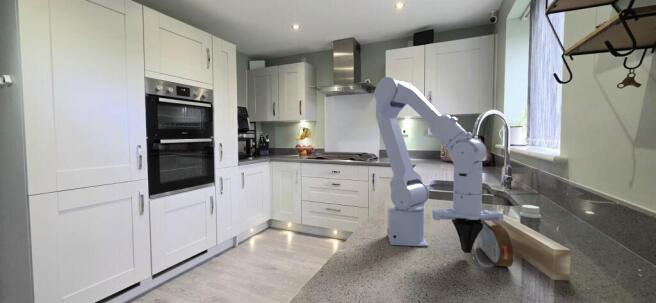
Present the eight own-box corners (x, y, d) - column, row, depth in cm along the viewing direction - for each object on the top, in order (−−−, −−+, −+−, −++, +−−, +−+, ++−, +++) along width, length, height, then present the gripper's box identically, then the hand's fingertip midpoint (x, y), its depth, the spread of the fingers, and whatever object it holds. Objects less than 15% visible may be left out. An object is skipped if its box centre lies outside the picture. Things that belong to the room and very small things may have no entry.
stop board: (552, 279, 51) (553, 249, 51) (491, 234, 75) (492, 213, 75) (569, 280, 51) (570, 250, 51) (502, 234, 75) (503, 214, 74)
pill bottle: (544, 239, 71) (545, 209, 71) (524, 238, 72) (525, 208, 72) (534, 233, 76) (535, 204, 75) (515, 232, 77) (516, 203, 76)
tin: (514, 274, 53) (516, 233, 53) (497, 273, 54) (499, 232, 54) (486, 244, 68) (487, 212, 68) (472, 243, 69) (473, 212, 68)
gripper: (439, 195, 56) (438, 257, 57) (511, 196, 55) (510, 260, 55) (430, 189, 63) (429, 244, 64) (494, 190, 62) (493, 247, 62)
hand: (466, 251), depth 60 cm, fingers closed
